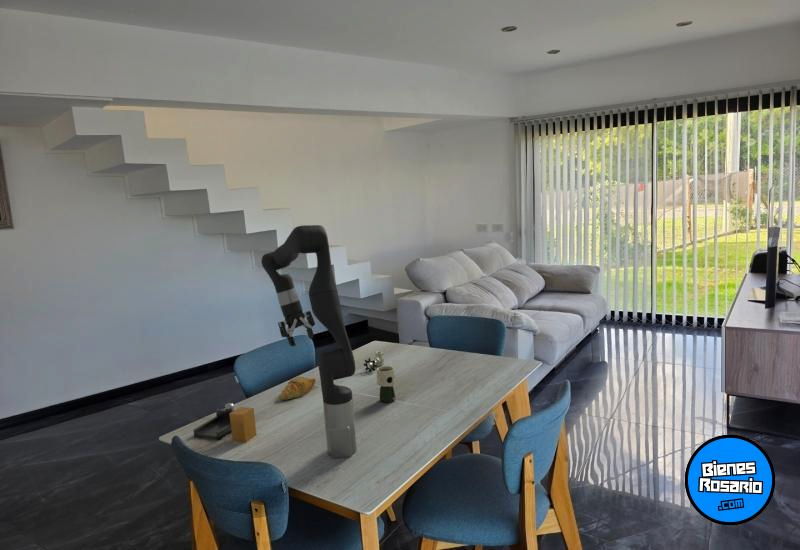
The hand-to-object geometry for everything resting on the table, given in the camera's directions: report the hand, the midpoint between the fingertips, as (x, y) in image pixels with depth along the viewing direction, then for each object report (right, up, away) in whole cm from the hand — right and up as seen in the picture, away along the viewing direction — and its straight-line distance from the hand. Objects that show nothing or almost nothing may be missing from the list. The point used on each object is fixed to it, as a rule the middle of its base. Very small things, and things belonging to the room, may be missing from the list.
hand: (302, 342), depth 209 cm
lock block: (-17, -31, -20) cm, 40 cm away
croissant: (-6, -24, +21) cm, 33 cm away
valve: (+26, -18, +48) cm, 58 cm away
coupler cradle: (-28, -30, -12) cm, 43 cm away
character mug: (+32, -24, +7) cm, 41 cm away
